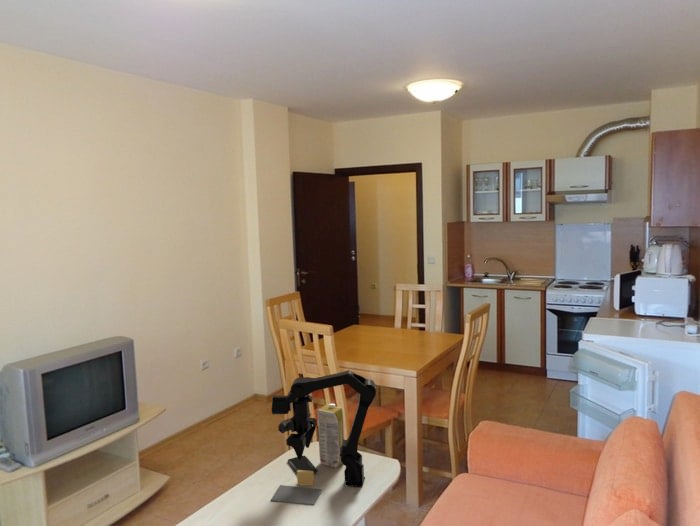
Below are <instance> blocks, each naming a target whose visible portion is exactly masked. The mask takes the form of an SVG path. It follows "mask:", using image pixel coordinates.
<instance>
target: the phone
mask: <svg viewBox="0 0 700 526" xmlns="http://www.w3.org/2000/svg"><path fill="white" fill-rule="evenodd" d="M287 463H288V464H289V466H290V468H291V469H292V470H293V471H294V472H295V474H296V475H297V471H298V470H306V471H314V475H316V474H317V475H318V472H319V471H318V469H317V468H316V467H315V465H314V464H313V463H312V461H311V460H310V459H309V458H308V457H307V456H306V455H302V458H301V460H300V459H298V457H297V456H296V457H293V458H288V459H287Z"/></svg>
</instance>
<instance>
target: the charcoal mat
mask: <svg viewBox="0 0 700 526" xmlns="http://www.w3.org/2000/svg"><path fill="white" fill-rule="evenodd" d="M321 492H322V488H319V487H307V486H306V487H305V486H296V485H295V486H294V485H284V484H280V485H279V486H278V488H277V489H276V491H275V492H274V494H273V496H272V497H271V499H270V502H275V503H289V504H295V505H297V504H298V505H306V506H307V505H310V506H315V504H316V502H317V500H318V499H319V496H320V494H321Z"/></svg>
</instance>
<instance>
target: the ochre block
mask: <svg viewBox="0 0 700 526" xmlns="http://www.w3.org/2000/svg"><path fill="white" fill-rule="evenodd" d="M296 477H297V478H296V480H297V482H296V484H297V485H299V486H301V485H302V486H314V485H315V474H314V471H306V470H298V471H297V474H296Z"/></svg>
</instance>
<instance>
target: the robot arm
mask: <svg viewBox="0 0 700 526" xmlns="http://www.w3.org/2000/svg"><path fill="white" fill-rule="evenodd" d="M343 385H348V386H349V387H350V388H352V389H353V390H354V391H355V392H357V394H358V395H359V396H358V404H357V407H356V411H355V414H354V418H353V422H352V425H351V428H350V431H349V435H348V437H347V439H345V438H344V439H343V444H342V446H341V447H340V457H341V462H342V464H341V465H343V466H345V469H344V471H343V473H344V482H345V483H344V486H348V487H358V488H359V487H360V488H362V487H363V486H364V483H365V480H366V476H365V467H364V464H363V455H362V454H361V453H360V452H359V451H358V447H359V440H360V437H361V434H362V431H363V428H364V423H365V420H366V417H367V413H368V410H369V407H371V405H372V404H373V401H374V399H375V398H376V395H377V386H376V383H375V381H374V380H372V379H371V378H366V377H364V376H362V375H360V374H357V373H355V372H353V371H352V370H349V369H348V370H345V371H341V372H337V373H333V374H332V373H331V374H328V375H324V376H323V375H322V376H319V377H309V376H307V377H306V376H305V377H297V378H295V379H293V382H292V384H291V386H290V389H289V391H288V393H287V395H273V396H272V399H271V400H272V401H271V414H272V415H273V416H274V415H275V416H277V415H289V413H290V412H292V415H293V416H292V417H289V418H286V419H284V420H282V421H280V423H279V424H278V426H277V427H278V429H277V430H278V432H280V433H281V434H285V433H286V432H290V431H291V433H290V434H289V435H288V437H287V438H286V439H285V442H286V446H288V447H291V448H293V451H294V452H295V455H296V457H298V459H300V460H301V458H302V456H304V451H305V448H306V449H308V448H310V445H311V442H312V440H313V437H314V434H315V431H316V429H317V426H318V419H316V418H315V417H311V412H309V403H312V402H313V399H314V397H313V396H312V395H310V394H312V393H314V392H317V391H320V390H323V389H329V388H333V387H338V386H343Z"/></svg>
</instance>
